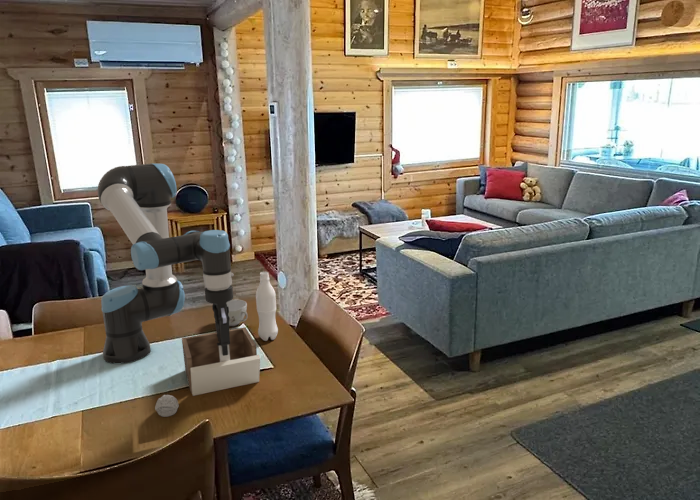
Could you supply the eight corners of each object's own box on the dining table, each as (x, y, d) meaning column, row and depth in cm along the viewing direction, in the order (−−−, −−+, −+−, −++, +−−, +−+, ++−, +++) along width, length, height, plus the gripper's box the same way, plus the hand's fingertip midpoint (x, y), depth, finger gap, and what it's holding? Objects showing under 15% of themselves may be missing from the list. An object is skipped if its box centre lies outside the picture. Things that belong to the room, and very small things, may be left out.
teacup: (208, 325, 208) (207, 306, 206) (232, 315, 218) (231, 297, 216) (235, 333, 199) (233, 313, 197) (259, 322, 209) (257, 303, 207)
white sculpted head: (154, 425, 141) (151, 402, 139) (159, 411, 148) (156, 389, 146) (178, 423, 142) (175, 400, 140) (181, 409, 149) (179, 387, 147)
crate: (191, 397, 155) (187, 358, 152) (185, 374, 169) (181, 338, 166) (258, 383, 162) (256, 345, 159) (248, 362, 176) (245, 327, 173)
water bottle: (281, 335, 197) (277, 270, 191) (272, 343, 190) (268, 276, 184) (264, 333, 199) (260, 269, 193) (255, 340, 193) (250, 275, 186)
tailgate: (192, 397, 153) (191, 372, 147) (192, 393, 154) (190, 367, 148) (259, 383, 160) (260, 358, 154) (257, 379, 162) (258, 354, 155)
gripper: (236, 291, 142) (243, 370, 149) (227, 277, 154) (234, 352, 160) (208, 295, 140) (215, 376, 146) (201, 281, 151) (208, 356, 157)
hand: (225, 363), depth 153 cm, fingers closed
